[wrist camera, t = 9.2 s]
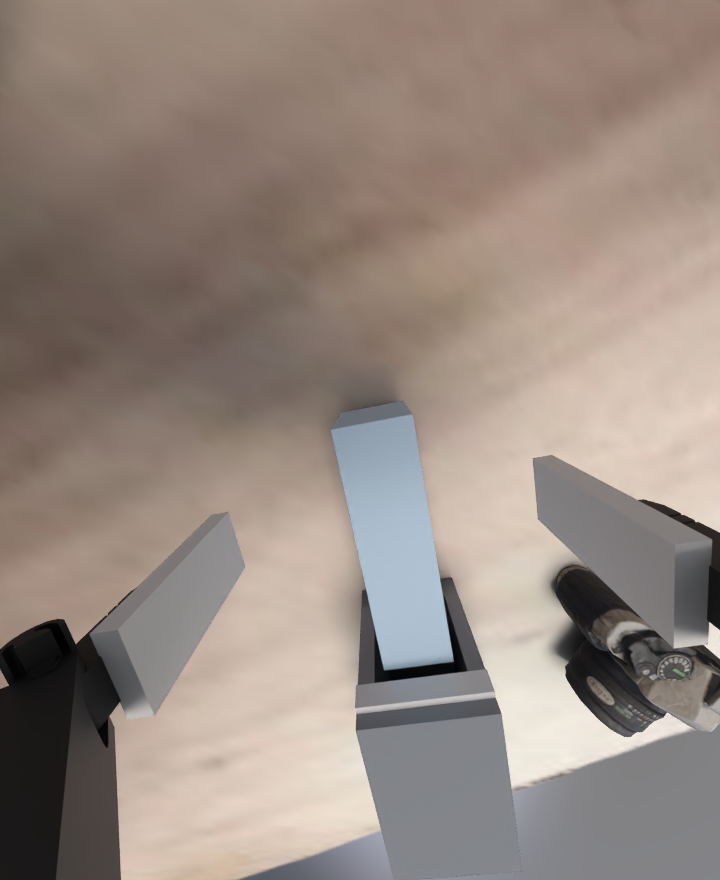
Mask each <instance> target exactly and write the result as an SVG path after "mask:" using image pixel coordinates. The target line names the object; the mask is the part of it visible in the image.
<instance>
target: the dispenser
mask: <svg viewBox="0 0 720 880" xmlns="http://www.w3.org/2000/svg"><path fill="white" fill-rule="evenodd" d="M440 582H441V588H442V594H443V600H444V606H445V612H446V618H447V624H448V630H449V636H450V642H451V648H452V654H453V660H454V662H447V663H439V664H431V665H424V666H416V667H408V668H400V669H393V670H385V671H384V668H383V663H382V659H381V654H380V650H379V645H378V641H377V636H376V632H375V627H374V623H373V618H372V614H371V609H370V605H369V600H368V596H367V591H366V590H365V591H362V609H361V630H360V652H359V673H358V685H356V700H355V710H356V714H357V716H356V733H357V737H358V741H359V745H360V749H361V753H362V757H363V761H364V765H365V768H366V772H367V776H368V780H369V784H370V788H371V792H372V796H373V800H374V804H375V807H376V811H377V815H378V819H379V823H380V827H381V831H382V835H383V839H384V843H385V846H386V850H387V854H388V858H389V862H390V866H391V870H392V874H393V877H394V880H419V879H432V878H445V877H458V876H469V875H482V874H483V875H484V874H497V873H508V872H509V873H510V872H522V865H521V857H520V849H519V842H518V834H517V827H516V819H515V812H514V804H513V797H512V789H511V782H510V774H509V767H508V759H507V752H506V744H505V737H504V729H503V722H502V714H501V711H500V709H499V706H498V703H497V700H496V697H495V691H494V688H493V686H492V683H491V680H490V677H489V675H488V672H487V669H485V667H484V665H483V662H482V659H481V657H480V654H479V651H478V648H477V646H476V643H475V640H474V637H473V635H472V632H471V629H470V626H469V624H468V621H467V618H466V615H465V613H464V610H463V607H462V604H461V602H460V599H459V596H458V593H457V591H456V588H455V585H454V582H453V580H452V578H446V579H440Z"/></svg>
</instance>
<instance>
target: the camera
mask: <svg viewBox="0 0 720 880" xmlns="http://www.w3.org/2000/svg"><path fill="white" fill-rule="evenodd" d="M557 586H558V589H557V591H556V594H557V597H558V599H559V601H560V603H561V605H562V606H563V608H564V610H565V611H566V612H567V614H568V615H569V616H570V618H571V619H572V620H573V622H574V623H575V624H576V626H577V627H578V628H579V629H580V631H581V632H582V633H583V635H584V636H585V637H586V638H587V640H585V641H584V642H583V643H582V644H581V645H580V646H579V648H578V649H577V651H576V652H575V654H574V655H573V657H572V659H571V660H570V662H569V663H568V664H567V665H566V667H565V669H566V678H567V680H568V682H569V684H570V685H571V687H572V688H573V690H574V691H575V693H576V694H577V696H578V697H579V699H580V700H581V701H582V702H583V703H584V704H585V705H586V706H587V708H588V709H589V710H590V711H591V712H592V713H593V714H594V715H595V716H596V717H597V718H598V719H599V720H600V721H601V722H602V723H604V724H605V725H606V726H607V727H608V728H610V729H611V730H613V731H614V732H616V733H618V734H620V735H622V736H624V737H631V736H632V735H634V734H635V733H636V732H643V731H644V730H645V729H646V728H647V727H648V726H649V725H650V724H651V723H653V722H654V721H656V720H658V719H661V718H663V717H664V716H665V714H666V713H669V714H671V715H672V716H674V717H676V718H677V719H679V720H681V721H682V722H684V723H685V724H687V725H689V726H690V727H692V728H695V729H697V730H701V731H713V730H714V729H715V728H716V726H717V725H718V724H719V723H720V659H719V658H718V657H717V656H715V655H714V654H713V653H712V652H711V651H710V650H708V649H707V648H706V647H705V646H704V645H697V646H690V647H682V648H673V647H671V646H670V645H669V644H668V643H667V642H666V641H665V640H664V639H663V638H662V637H661V636H660V635H659V634H658V633H657V632H656V631H655V630H654V629H653V628H652V627H651V626H649V625H648V624H647V623H646V622H645V621H644V620H643V619H642V618H641V617H640V616H639V615H638V614H637V613H636V612H635V611H634V610H633V609H632V608H631V607H630V606H629V605H627V604H626V603H625V602H624V601H623V600H622V599H621V598H620V597H619V596H618V595H617V594H616V593H615V592H614V591H613V590H612V589H611V588H610V587H609V586H608V585H607V584H605V583H604V582H603V581H602V580H601V579H600V578H599V577H597V576H596V575H595V574H594V573H593V572H591V571H589V570H588V569H585V568H582V567H578V566H573V567H570V568H565V569H563V570H562V572H561V573H560V575H559V576H558V579H557Z"/></svg>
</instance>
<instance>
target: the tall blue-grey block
mask: <svg viewBox="0 0 720 880" xmlns="http://www.w3.org/2000/svg"><path fill="white" fill-rule="evenodd" d="M331 433H332V438H333V442H334V447H335V451H336V456H337V460H338V465H339V469H340V474H341V478H342V483H343V487H344V492H345V496H346V501H347V505H348V510H349V514H350V519H351V523H352V528H353V532H354V537H355V541H356V546H357V550H358V555H359V559H360V564H361V568H362V573H363V577H364V582H365V587H366V591H367V596H368V600H369V605H370V609H371V614H372V618H373V623H374V627H375V632H376V636H377V641H378V645H379V650H380V654H381V659H382V663H383V668H384V671H385V670H393V669H400V668H408V667H416V666H424V665H431V664H439V663H447V662H454V660H453V654H452V648H451V642H450V636H449V630H448V624H447V618H446V612H445V606H444V600H443V594H442V588H441V582H440V576H439V570H438V564H437V557H436V551H435V545H434V539H433V533H432V527H431V521H430V515H429V509H428V503H427V497H426V491H425V485H424V479H423V473H422V467H421V461H420V455H419V449H418V443H417V437H416V431H415V425H414V419H413V414H412V413H411V411H410V410H409V409H408V407H407V406H406V405H405V403H404V402H403V401H399V402H394V403H389V404H384V405H379V406H373V407H368V408H363V409H358V410H353V411H347V412H342V413H341V414H340V416H339V417H338V419H337V420H336V422H335V424H334V425H333V427H332V428H331Z"/></svg>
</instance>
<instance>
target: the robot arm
mask: <svg viewBox="0 0 720 880" xmlns="http://www.w3.org/2000/svg"><path fill="white" fill-rule="evenodd" d="M533 467H534V479H535V490H536V502H537V513H538V520H539V521H540V522H542V523H543V524H544V525H545V526H546V527H547V528H548V529H549V530H550V531H551V532H552V533H553V534H554V535H555V536H556V537H557V538H558V539H559V540H560V541H561V542H562V543H564V544H565V545H566V546H567V547H568V548H569V549H570V550H571V551H572V552H573V553H574V554H575V555H576V556H577V557H578V558H579V559H580V560H581V561H582V562H583V563H584V564H586V565H587V566H588V567H589V568H590V569H591V570H592V571H593V572H594V573H595V574H596V575H597V576H598V577H599V578H600V579H601V580H602V581H603V582H604V583H605V584H607V585H608V586H609V587H610V588H611V589H612V590H613V591H614V592H615V593H616V594H617V595H618V596H619V597H620V598H621V599H622V600H623V601H624V602H625V603H626V604H627V605H629V606H630V607H631V608H632V609H633V610H634V611H635V612H636V613H637V614H638V615H639V616H640V617H641V618H642V619H643V620H644V621H645V622H646V623H647V624H648V625H649V626H651V627H652V628H653V629H654V630H655V631H656V632H657V633H658V634H659V635H660V636H661V637H662V638H663V639H664V640H665V641H666V642H667V643H668V644H669V645H670V646H671V647H673V648H682V647H690V646H697V645H705V644H708V632H709V622H710V623H712V624H713V625H714V626H715V627H717V628H718V629H719V630H720V533H719V532H717V531H715V530H713V529H711V528H709V527H707V526H705V525H703V524H701V523H699V522H695V520H693V519H691V518H689V517H687V516H685V515H681V513H679V512H677V511H675V510H673V509H671V508H669V507H667V506H665V505H661V504H658V503H654V502H651V501H647V500H644V499H643V500H636V499H634V498H633V497H631V496H629V495H627V494H625V493H623V492H621V491H619V490H617V489H615V488H614V487H612V486H610V485H608V484H606V483H604V482H602V481H600V480H598V479H596V478H595V477H593V476H591V475H589V474H587V473H585V472H583V471H581V470H579V469H577V468H576V467H574V466H572V465H570V464H568V463H566V462H564V461H562V460H560V459H558V458H557V457H555V456H553V455H549V456H543V457H538V458H533ZM244 568H245V564H244V561H243V557H242V554H241V551H240V548H239V545H238V541H237V538H236V535H235V532H234V529H233V525H232V522H231V519H230V516H229V512H225V513H219V514H214V515H211V516H210V517H209V518H208V519H207V520H206V521H205V522H204V523H203V524H202V525H201V526H200V527H199V528H198V529H197V530H196V531H195V532H194V533H193V534H192V535H191V536H190V537H189V538H187V539H186V540H185V541H184V542H183V543H182V544H181V545H180V546H179V547H178V548H177V549H176V550H175V551H174V552H173V553H172V554H171V555H170V556H169V557H168V558H167V559H166V560H165V561H164V562H163V563H162V564H161V565H160V566H159V567H158V568H157V569H156V570H155V571H154V572H153V573H152V574H151V575H149V576H148V577H147V578H146V579H145V580H144V581H143V582H142V583H141V584H140V585H139V586H138V587H137V588H135V589H134V590H132V591H131V592H130V593H129V594H128V595H127V596H126V597H124V598H123V599H122V600H121V601H120V602H119V603H118V606H115V607H114V608H113V609H112V610H111V611H110V612H109V613H108V616H105V617H104V618H103V619H102V620H101V621H100V622H99V623H97V624H96V625H95V626H94V627H93V628H92V629H91V630H90V631H89V632H88V633H87V634H86V635H85V636H84V637H83V638H82V639H81V640H80V641H79V642H78V643H77V644H75V642H74V640H73V638H72V635H71V633H70V631H69V629H68V627H67V625H66V623H65V620H63V619H56V620H51V621H47V622H45V623H42V624H40V625H37V626H35V627H33V628H31V629H29V630H27V631H25V632H23V633H22V634H20V635H19V636H17V637H15V638H14V639H12V640H11V641H9V642H8V643H7V644H6V645H5V646H4V647H2V648H1V649H0V669H1V671H2V673H3V675H4V677H5V679H6V681H7V682H8V684H9V686H7V687H4V688H2V689H0V880H121V872H120V848H119V825H118V802H117V779H116V756H115V732H114V726H113V723H112V721H111V719H110V717H109V716H110V714H111V713H112V712H113V710H114V709H115V708H116V706H117V705H118V704H119V702H120V703H121V705H122V708H123V710H124V712H125V714H126V716H127V719H135V718H143V717H150V716H155V714H156V713H157V711H158V710H159V708H160V706H161V705H162V703H163V701H164V700H165V698H166V696H167V695H168V693H169V691H170V690H171V688H172V686H173V685H174V683H175V682H176V680H177V678H178V677H179V675H180V673H181V672H182V670H183V668H184V667H185V665H186V663H187V662H188V660H189V659H190V657H191V655H192V654H193V652H194V650H195V649H196V647H197V645H198V644H199V642H200V640H201V639H202V637H203V635H204V634H205V632H206V631H207V629H208V627H209V626H210V624H211V622H212V621H213V619H214V617H215V616H216V614H217V612H218V611H219V609H220V607H221V606H222V604H223V603H224V601H225V599H226V598H227V596H228V594H229V593H230V591H231V589H232V588H233V586H234V584H235V583H236V581H237V580H238V578H239V576H240V575H241V573H242V571H243V570H244Z"/></svg>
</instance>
